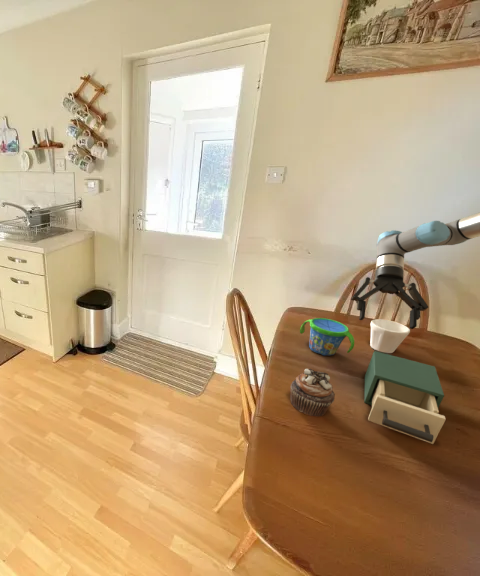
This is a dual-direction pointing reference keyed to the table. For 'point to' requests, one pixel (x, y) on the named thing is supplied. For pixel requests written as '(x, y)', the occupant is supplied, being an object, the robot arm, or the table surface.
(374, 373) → the cabinet
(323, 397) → the cupcake
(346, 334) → the snack cup
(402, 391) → the drawer
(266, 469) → the table surface
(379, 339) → the cup
